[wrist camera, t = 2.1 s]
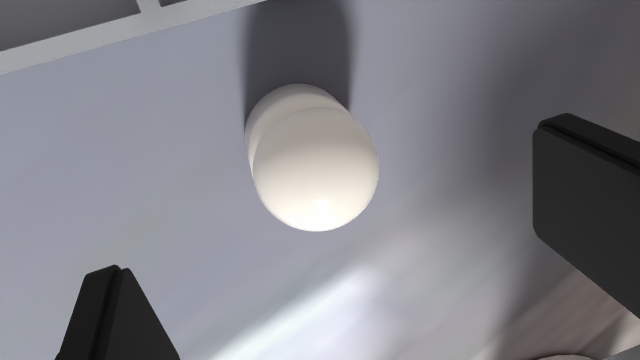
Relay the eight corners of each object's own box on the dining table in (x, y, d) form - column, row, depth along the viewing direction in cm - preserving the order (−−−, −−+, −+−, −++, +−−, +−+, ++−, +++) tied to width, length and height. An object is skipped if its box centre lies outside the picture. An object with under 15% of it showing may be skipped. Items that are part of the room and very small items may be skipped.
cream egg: (356, 165, 20) (408, 230, 15) (262, 196, 20) (282, 273, 15) (335, 70, 18) (386, 107, 13) (229, 101, 18) (240, 153, 13)
